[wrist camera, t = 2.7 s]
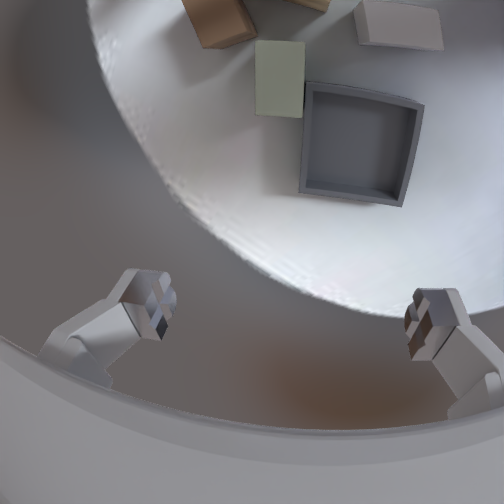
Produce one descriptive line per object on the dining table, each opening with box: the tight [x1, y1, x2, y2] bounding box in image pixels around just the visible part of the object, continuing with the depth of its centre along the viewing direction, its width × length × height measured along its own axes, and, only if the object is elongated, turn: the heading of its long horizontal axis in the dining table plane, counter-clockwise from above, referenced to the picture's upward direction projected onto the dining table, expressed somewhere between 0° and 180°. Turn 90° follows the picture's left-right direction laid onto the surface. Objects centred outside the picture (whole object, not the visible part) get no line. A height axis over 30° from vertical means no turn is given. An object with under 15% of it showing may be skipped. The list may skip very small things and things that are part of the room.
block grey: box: [353, 0, 444, 51], centre depth 14 cm, size 6×4×5 cm, turn 99°
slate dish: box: [299, 81, 425, 207], centre depth 22 cm, size 10×10×2 cm
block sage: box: [255, 40, 306, 118], centre depth 19 cm, size 6×4×5 cm, turn 179°
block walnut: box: [182, 0, 258, 49], centre depth 16 cm, size 6×4×5 cm, turn 20°
